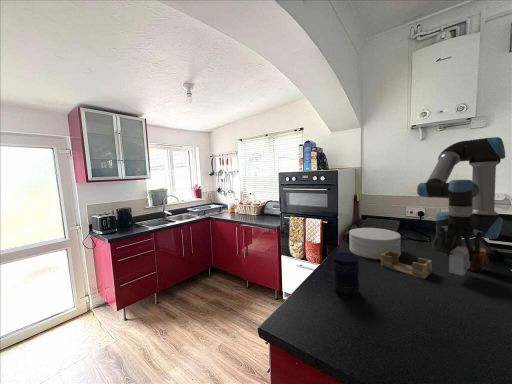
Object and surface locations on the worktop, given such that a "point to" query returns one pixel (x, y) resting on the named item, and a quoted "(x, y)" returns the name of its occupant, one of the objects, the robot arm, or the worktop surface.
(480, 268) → the mug
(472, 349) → the worktop surface
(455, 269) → the grey block
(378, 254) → the plate stack
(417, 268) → the posts
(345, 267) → the storage jar
